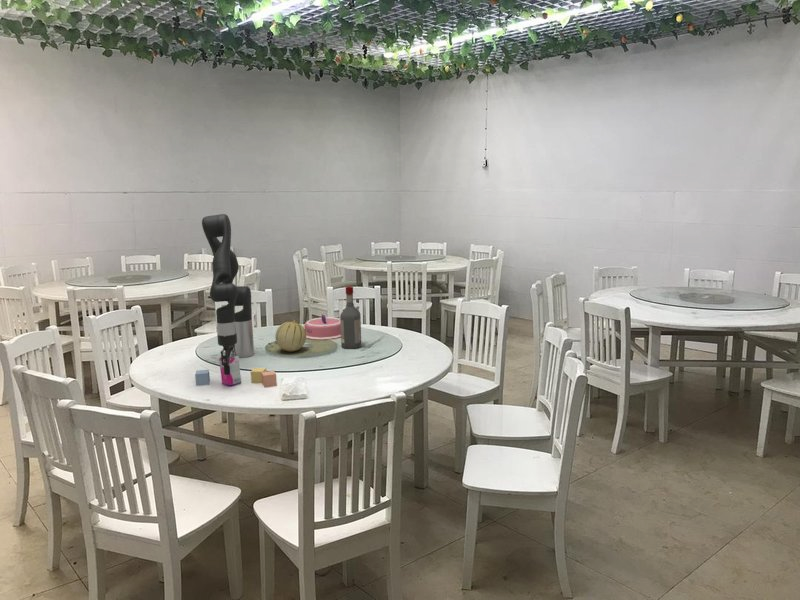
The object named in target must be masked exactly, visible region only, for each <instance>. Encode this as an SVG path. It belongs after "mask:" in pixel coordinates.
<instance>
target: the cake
mask: <svg viewBox="0 0 800 600" xmlns="http://www.w3.org/2000/svg"><path fill="white" fill-rule="evenodd" d="M304 329H305V331H306V340H311V341H329V340H331V341H332V340H337V339H341V324H340V317H334V316H331V317H329V316H327V317H326V316H325V314H321V317H315V318H311V319H309V320H307V321H306V322H304Z"/></svg>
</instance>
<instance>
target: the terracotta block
mask: <svg viewBox="0 0 800 600" xmlns="http://www.w3.org/2000/svg"><path fill="white" fill-rule="evenodd" d="M261 374H262V383H261V384H262V386H263V387H264V388H270V387H277V385H278V383H277V373H276V372H275V370H268V371H267V370H266V372H261Z"/></svg>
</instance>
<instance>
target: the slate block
mask: <svg viewBox="0 0 800 600" xmlns="http://www.w3.org/2000/svg"><path fill="white" fill-rule="evenodd" d="M194 376H195V377H194V379H195V385H196V387H198V385H199V386H208V385H210V382H211V379H210V378H211V377H210V369H201V370H200V369H199V370H196V371H195V374H194Z"/></svg>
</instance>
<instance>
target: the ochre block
mask: <svg viewBox="0 0 800 600" xmlns="http://www.w3.org/2000/svg"><path fill="white" fill-rule="evenodd" d="M261 372H267V367H253V368H252V370H250V381H251V382H250V383H251V384H262V374H261Z"/></svg>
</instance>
